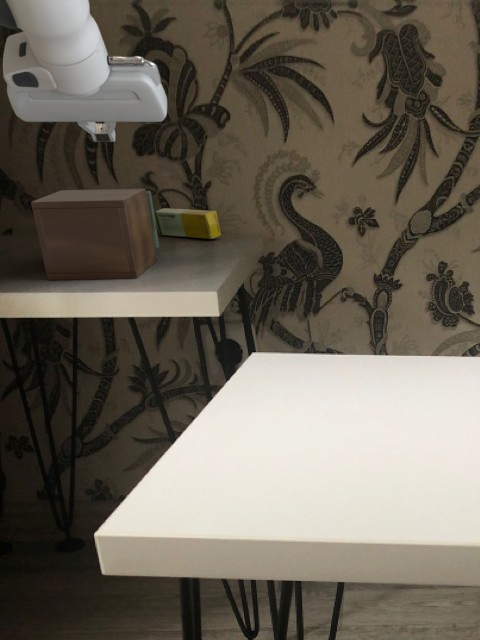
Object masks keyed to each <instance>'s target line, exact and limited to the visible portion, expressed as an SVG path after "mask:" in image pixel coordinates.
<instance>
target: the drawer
mask: <svg viewBox="0 0 480 640" xmlns="http://www.w3.org/2000/svg"><path fill="white" fill-rule="evenodd" d="M146 194H147V201H148V207H149V213H150V219H151V226H152V232H153V238H154V244H155V250H159V248H160V241H159V236H158V235H159V234H158V229H157V221H156V215H155V211H154V210H155V209H154V203H153V198H152V192H151V191H150V190H146Z"/></svg>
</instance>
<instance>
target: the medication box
mask: <svg viewBox="0 0 480 640" xmlns="http://www.w3.org/2000/svg"><path fill="white" fill-rule="evenodd" d="M154 215H155V220H156V224H157V226H158V229H159V235H160V236H161V237H162V236H168V237H169V236H171V237H182V238H194V239H195V238H197V239H205V240H213V239H215V238H218V237H220V236H222V232H221V228H220V223H219V218H218V214H217V211H216V210H204V209H203V210H202V209H186V208H185V209H184V208H167V207H163V208H160V209H158V210H155V211H154Z"/></svg>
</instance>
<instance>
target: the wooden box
mask: <svg viewBox="0 0 480 640" xmlns="http://www.w3.org/2000/svg"><path fill="white" fill-rule="evenodd" d="M146 189H147V188H115V189H114V188H111V189H110V188H109V189H108V188H107V189H104V188H103V189H61V190H58V191H56V192H53V193H51V194H48V195H46V196H43V197H40V198H38V199H36V200H33V201H31V202H30V204H31V208H32V213H33V218H34V223H35V227H36V232H37V236H38V241H39V245H40V250H41V255H42V259H43V263H44V268H45V272H46V276H47V280H48V281H76V280H77V281H78V280H79V281H81V280H83V281H84V280H119V279H122V280H123V279H124V280H125V279H126V280H127V279H138V278H140V276H141V275H142V274H144V272H146V271H147V270H148V269H150V267H151V266H152V265H154V264H155V263H156V262H157V261H158V258H157V257H158V256H157V251H156V249H155V244H154V238H153V232H152V226H151V219H150V213H149V207H148V201H147V194H146V191H147V190H146Z"/></svg>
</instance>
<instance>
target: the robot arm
mask: <svg viewBox="0 0 480 640" xmlns="http://www.w3.org/2000/svg"><path fill="white" fill-rule="evenodd" d="M89 1H90V0H0V26H3V27H5V28H7V29H8V28H9V29H11V30H17V29H20V30H22V31H21V32H18V33H14V34H11V35H9V36H8V37H7V38H6V41H5V44H4V50H3V57H2V74H3V80H4V81H5V82H6V93H7V97H8V100H9V103H10V106H11V108H12V110H13V112H14V114H15V115H16V117H17V118H19V119H20V120H22V121H24V122H25V123H26V122H27V123H77V125H78V126H79V127H81V129H82V130H85V131H86V132H87V133H88V134H89V135H90V136H91V138H92V140H93V142H94V143H100V142H103V143H104V142H106V143H107V142H108V143H111V142H113V143H114V142H116V131H115V128H116V125H117V123H136V122H137V123H145V122H146V123H152V122H153V123H156V122H157V123H158V122H159V123H161V122H163V121H164V120H165V119H166V118H167V114H168V98H167V94H166V92H165V89H164V86H163V84H162V81H161V80H162V78H161V75H160V71H159V68H158V66H157V64H156V63H154V62H152V61H150V60H148V59H145V58H144V56H139V55H133V56H123V55H109V52H108V50H107V48H106V44H105V41H104V39H103V37H102V34H101V31H100V28H99V26H98V23H97V22H96V20H95V18H94V17H93V16H92V15H91V12H90V2H89Z"/></svg>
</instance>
